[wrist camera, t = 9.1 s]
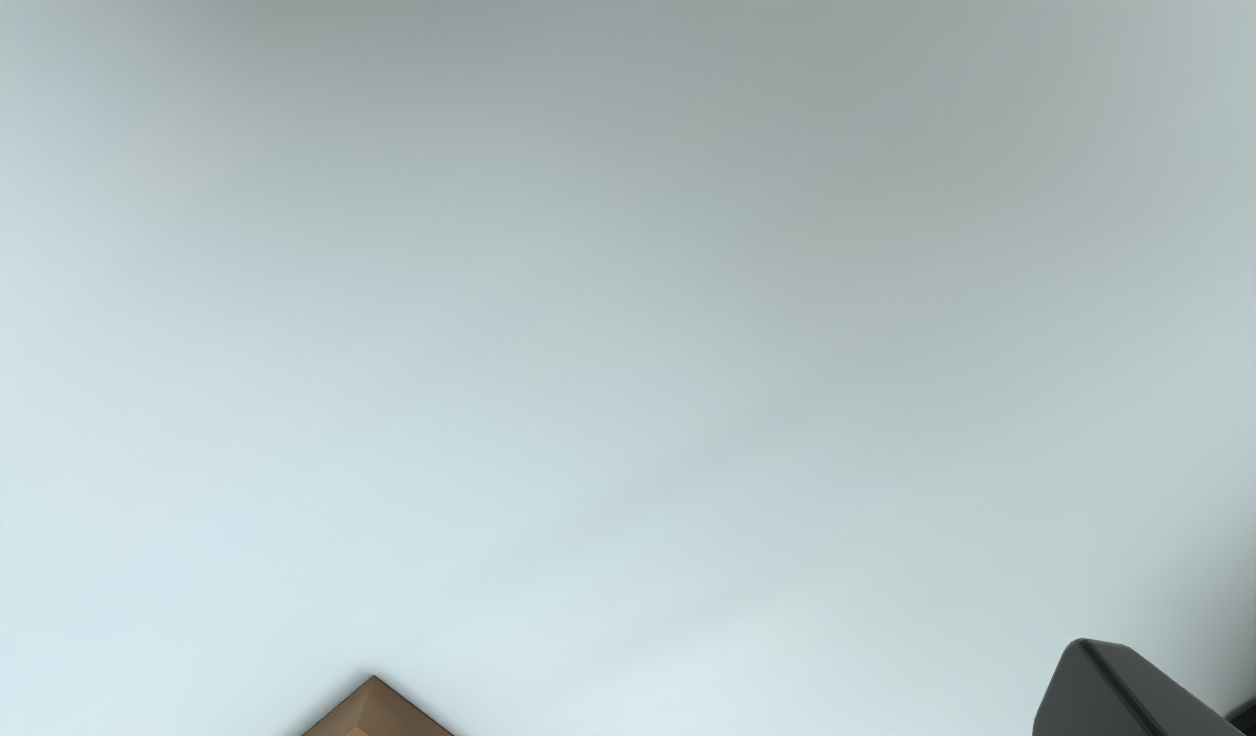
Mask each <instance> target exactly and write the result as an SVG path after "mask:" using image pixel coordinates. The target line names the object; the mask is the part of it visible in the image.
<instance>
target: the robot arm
mask: <svg viewBox="0 0 1256 736" xmlns="http://www.w3.org/2000/svg"><path fill="white" fill-rule="evenodd" d="M1255 735H1256V706H1254V707H1253V708H1251V709H1250V710H1248V711H1246V712H1245V713H1243V714H1241V715H1240V716H1238V717H1236V718H1235V719H1233V720H1232V721H1231V722H1230V723H1229V722H1228V721H1226V720H1225V719H1224V718H1222V717H1221V716H1220V715H1218V714H1217V713H1216V712H1214V711H1213V710H1212V709H1210V708H1209V707H1208V706H1207V705H1205V704H1204V703H1203V702H1201V701H1200V700H1199V699H1197V698H1196V697H1195V696H1193V695H1192V694H1191V693H1189V692H1188V691H1187V690H1185V689H1184V688H1183V687H1182V686H1180V685H1179V684H1178V683H1176V682H1175V681H1174V680H1172V679H1171V678H1170V677H1168V676H1167V675H1166V674H1164V673H1163V672H1162V671H1160V670H1159V669H1158V668H1156V667H1155V666H1154V665H1153V664H1151V663H1150V662H1149V661H1147V660H1146V659H1145V658H1143V657H1142V656H1141V655H1139V654H1138V653H1137V652H1135V651H1134V650H1133V649H1131V648H1130V647H1127V646H1125V645H1122V644H1117V643H1111V642H1105V641H1099V640H1093V639H1086V638H1079V639H1076V640H1074V641H1072V642H1071V643H1070V644H1069V645H1068V646H1067V647H1066V649H1065V650H1064V652H1063V654H1062V656H1061V658H1060V661H1059V663H1058V665H1057V668H1056V670H1055V672H1054V674H1053V677H1052V679H1051V681H1050V684H1049V686H1048V688H1047V690H1046V693H1045V695H1044V697H1043V700H1042V702H1041V704H1040V707H1039V709H1038V711H1037V714H1036V717H1035V720H1034V725H1033V732H1032V736H1255Z"/></svg>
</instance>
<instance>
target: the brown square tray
mask: <svg viewBox="0 0 1256 736" xmlns="http://www.w3.org/2000/svg"><path fill="white" fill-rule="evenodd" d="M303 736H452V735H451V734H449V733H448V732H447V731H445V730H444V729H443V728H441V727H440V726H439V725H437V724H436V723H435V722H434V721H432V720H431V719H430V718H428V717H427V716H426V715H424V714H423V713H422V712H420V711H419V710H418V709H416V708H415V707H414V706H412V705H411V704H410V703H409V702H407V701H406V700H405V699H403V698H402V697H401V696H399V695H398V694H397V693H395V692H394V691H393V690H391V689H390V688H389V687H388V686H386V685H385V684H384V683H382V682H381V681H380V680H378V679H377V678H376V677H374V676H373V677H372V678H371V679H370V680H368V681H367V682H366V683H365V684H364V685H362V686H361V687H360V688H359V689H358V690H356V691H355V692H354V693H353V694H352V695H351V696H349V697H348V698H347V699H346V700H345V701H343V702H342V703H341V704H340V705H339V706H337V707H336V708H335V709H334V710H333V711H331V712H330V713H329V714H328V715H327V716H325V717H324V718H323V719H322V720H321V721H320V722H318V723H317V724H316V725H315V726H314V727H312V728H311V729H310V730H309V731H308V732H306V733H305V734H304V735H303Z"/></svg>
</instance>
